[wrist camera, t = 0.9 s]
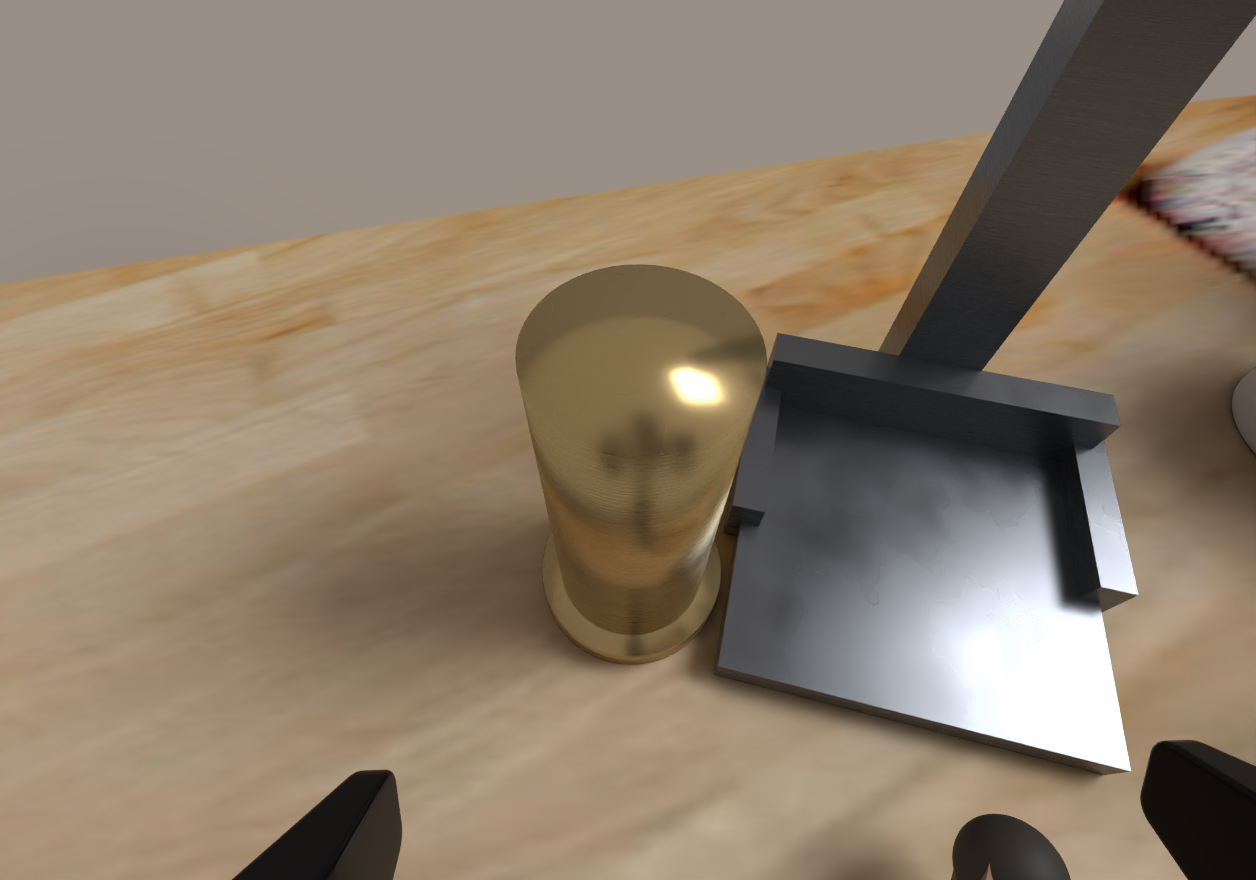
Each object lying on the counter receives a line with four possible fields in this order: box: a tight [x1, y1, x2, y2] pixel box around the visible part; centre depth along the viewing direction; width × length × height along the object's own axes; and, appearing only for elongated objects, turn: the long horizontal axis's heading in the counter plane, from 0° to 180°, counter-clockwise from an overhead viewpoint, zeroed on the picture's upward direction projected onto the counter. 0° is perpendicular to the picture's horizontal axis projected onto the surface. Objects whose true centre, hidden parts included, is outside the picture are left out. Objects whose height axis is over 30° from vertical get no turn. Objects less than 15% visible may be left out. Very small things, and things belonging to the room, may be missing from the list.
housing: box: [516, 265, 767, 664], centre depth 18 cm, size 7×7×13 cm
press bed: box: [714, 0, 1256, 775], centre depth 15 cm, size 16×14×22 cm
